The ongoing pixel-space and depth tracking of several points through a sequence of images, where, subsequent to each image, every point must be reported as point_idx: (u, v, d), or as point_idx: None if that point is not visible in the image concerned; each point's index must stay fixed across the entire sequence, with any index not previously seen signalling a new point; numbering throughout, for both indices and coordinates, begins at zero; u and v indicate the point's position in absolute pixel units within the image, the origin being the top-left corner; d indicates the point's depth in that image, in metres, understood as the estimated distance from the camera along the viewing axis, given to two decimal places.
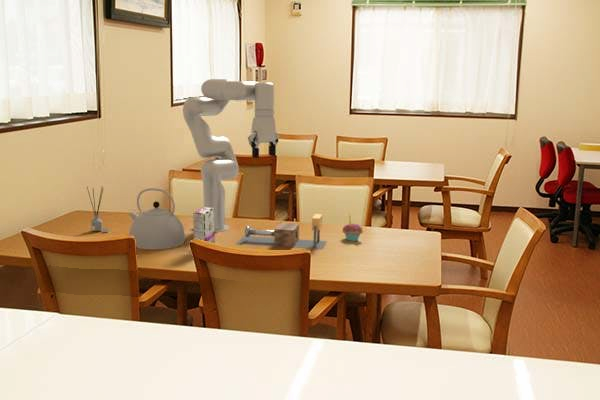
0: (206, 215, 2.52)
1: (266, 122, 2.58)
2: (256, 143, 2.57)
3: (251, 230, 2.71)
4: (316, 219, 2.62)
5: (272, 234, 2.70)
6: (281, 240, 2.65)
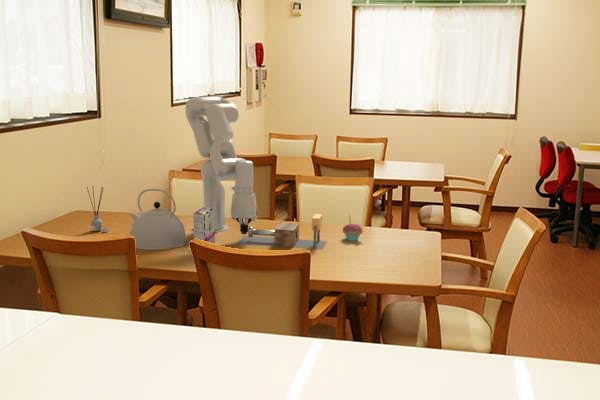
0: (206, 215, 2.52)
1: None
2: None
3: (254, 230, 2.71)
4: (316, 219, 2.62)
5: None
6: (281, 240, 2.65)
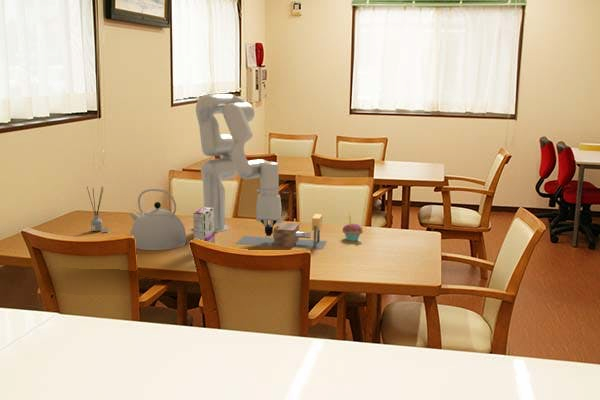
0: (206, 215, 2.52)
1: None
2: None
3: None
4: (316, 219, 2.62)
5: (301, 236, 2.68)
6: (281, 240, 2.65)
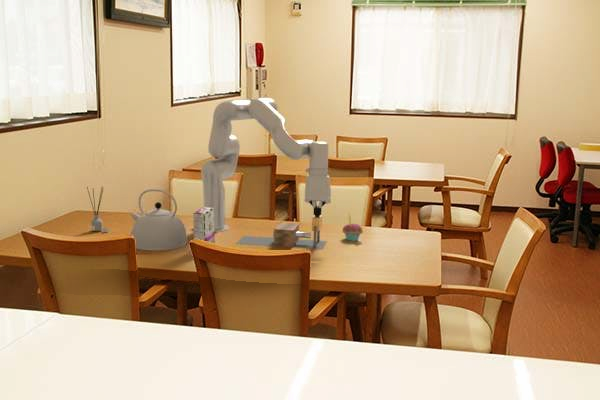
0: (206, 215, 2.52)
1: None
2: None
3: None
4: (316, 220, 2.62)
5: (301, 236, 2.68)
6: (281, 240, 2.65)
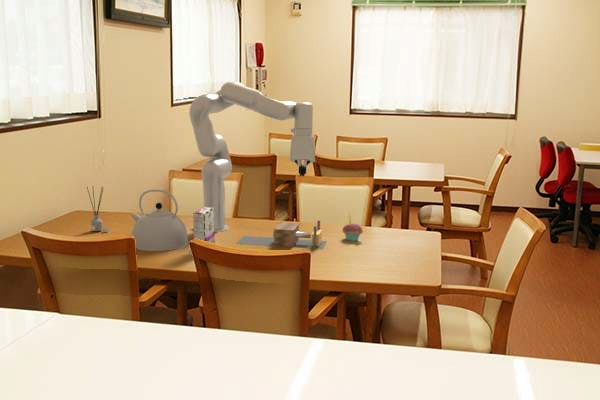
0: (206, 215, 2.52)
1: None
2: None
3: None
4: (316, 235, 2.64)
5: (301, 236, 2.68)
6: (281, 240, 2.65)
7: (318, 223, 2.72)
